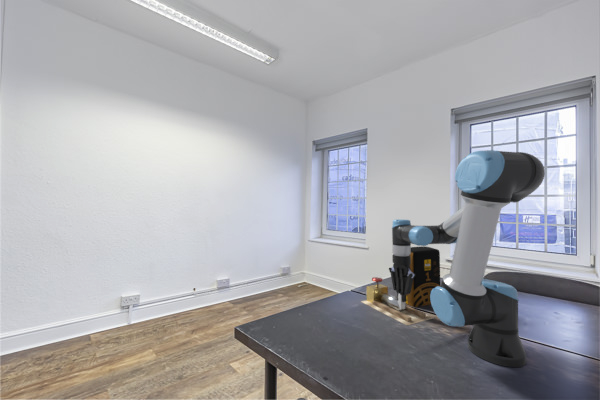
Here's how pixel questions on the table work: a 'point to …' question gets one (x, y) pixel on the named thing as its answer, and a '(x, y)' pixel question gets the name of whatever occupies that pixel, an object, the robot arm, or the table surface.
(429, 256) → the black and orange box
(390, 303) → the silver metal cylinder
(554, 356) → the table surface
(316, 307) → the table surface
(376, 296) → the valve
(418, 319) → the board
